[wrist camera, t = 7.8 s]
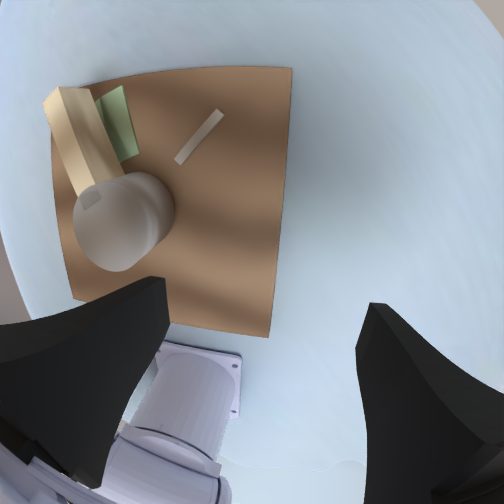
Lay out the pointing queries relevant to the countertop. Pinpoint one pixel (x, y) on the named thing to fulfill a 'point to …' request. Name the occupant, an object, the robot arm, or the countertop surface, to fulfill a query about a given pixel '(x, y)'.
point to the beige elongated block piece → (106, 186)
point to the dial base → (197, 189)
